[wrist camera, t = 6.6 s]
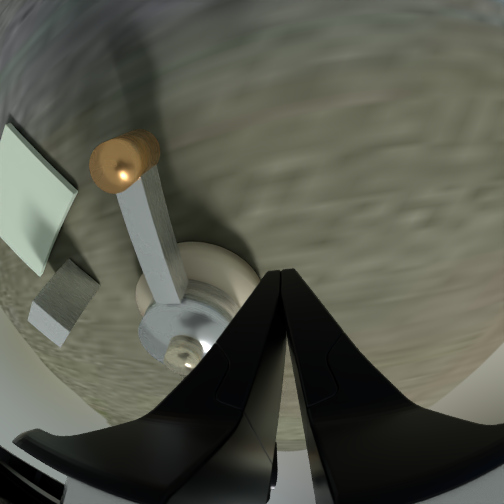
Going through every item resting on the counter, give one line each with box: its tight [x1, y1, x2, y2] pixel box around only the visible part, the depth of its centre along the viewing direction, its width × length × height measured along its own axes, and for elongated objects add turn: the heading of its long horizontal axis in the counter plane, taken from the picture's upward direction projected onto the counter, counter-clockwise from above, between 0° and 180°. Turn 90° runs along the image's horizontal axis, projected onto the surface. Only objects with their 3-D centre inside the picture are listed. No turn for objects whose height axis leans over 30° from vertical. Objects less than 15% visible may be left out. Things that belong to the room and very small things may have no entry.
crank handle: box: [89, 129, 239, 375], centre depth 16 cm, size 17×7×5 cm, turn 7°
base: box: [136, 242, 260, 316], centre depth 22 cm, size 10×10×2 cm
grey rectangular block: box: [28, 259, 100, 348], centre depth 21 cm, size 4×4×6 cm
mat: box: [0, 123, 78, 276], centre depth 19 cm, size 12×10×1 cm
